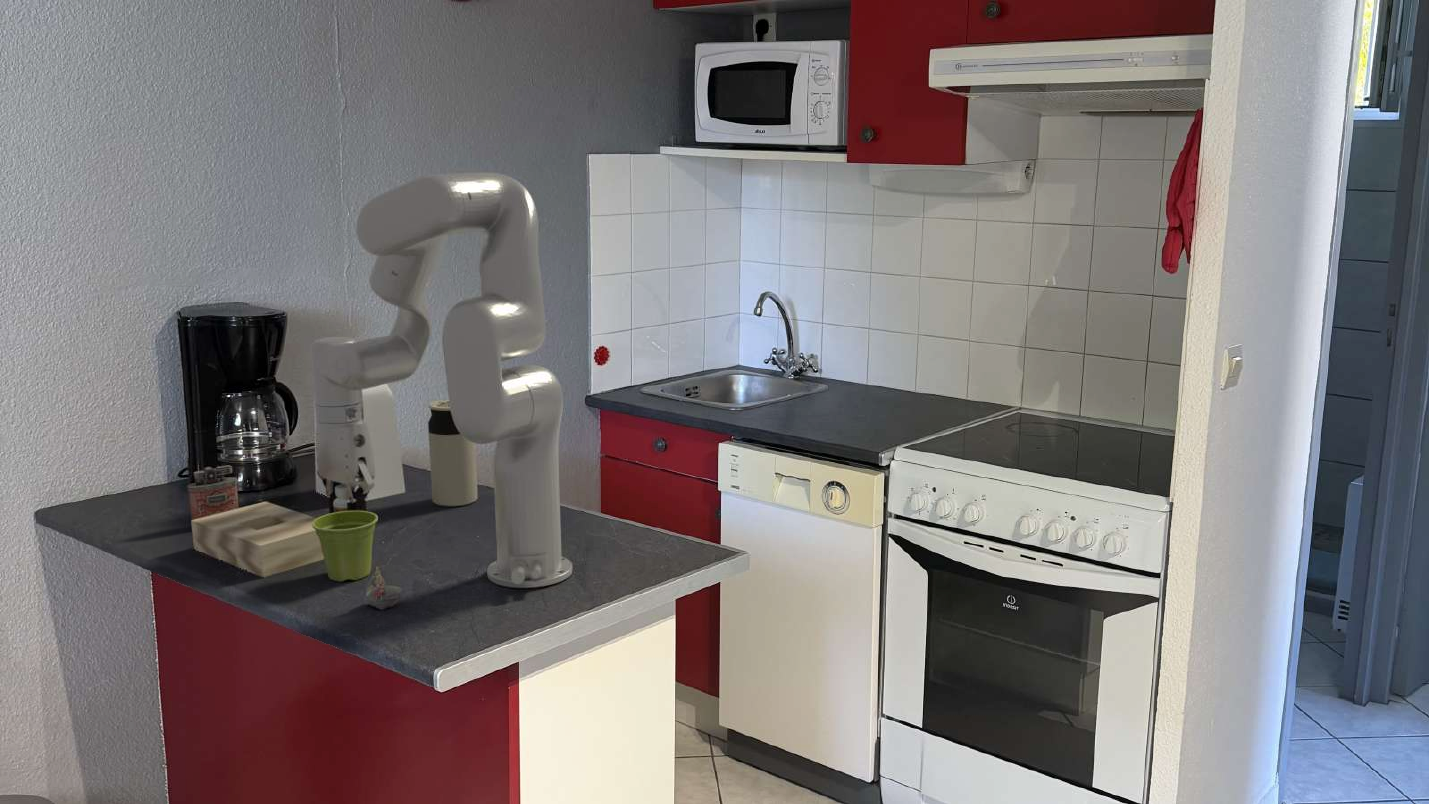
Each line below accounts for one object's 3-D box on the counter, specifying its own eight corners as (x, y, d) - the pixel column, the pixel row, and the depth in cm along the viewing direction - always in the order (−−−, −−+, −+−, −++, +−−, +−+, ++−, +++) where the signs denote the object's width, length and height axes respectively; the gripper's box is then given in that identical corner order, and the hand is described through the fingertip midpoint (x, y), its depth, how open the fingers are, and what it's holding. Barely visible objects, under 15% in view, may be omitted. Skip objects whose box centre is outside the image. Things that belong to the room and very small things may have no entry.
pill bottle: (330, 534, 203) (326, 489, 201) (344, 526, 207) (340, 481, 205) (354, 535, 202) (350, 490, 200) (368, 527, 206) (364, 483, 204)
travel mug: (486, 498, 223) (482, 401, 219) (456, 510, 216) (451, 410, 213) (453, 492, 227) (448, 397, 223) (423, 503, 220) (417, 405, 216)
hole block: (338, 554, 193) (336, 524, 192) (263, 577, 184) (260, 545, 182) (268, 530, 206) (265, 501, 205) (194, 550, 196) (191, 520, 195)
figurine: (408, 598, 175) (398, 558, 173) (399, 610, 170) (389, 570, 169) (372, 603, 175) (362, 563, 174) (362, 615, 171) (352, 575, 169)
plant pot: (349, 590, 178) (344, 533, 176) (302, 579, 183) (298, 523, 181) (394, 570, 186) (391, 515, 184) (349, 560, 191) (345, 507, 189)
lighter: (195, 531, 205) (189, 474, 203) (188, 527, 208) (183, 469, 206) (244, 522, 210) (238, 465, 208) (237, 517, 213) (232, 461, 211)
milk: (344, 505, 220) (334, 362, 214) (316, 492, 228) (305, 353, 222) (405, 492, 227) (396, 353, 222) (375, 480, 236) (366, 346, 230)
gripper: (391, 415, 198) (398, 524, 201) (329, 403, 208) (338, 507, 212) (351, 424, 192) (360, 536, 196) (290, 411, 202) (299, 517, 206)
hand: (348, 520), depth 204 cm, fingers closed on pill bottle, 4 cm apart
